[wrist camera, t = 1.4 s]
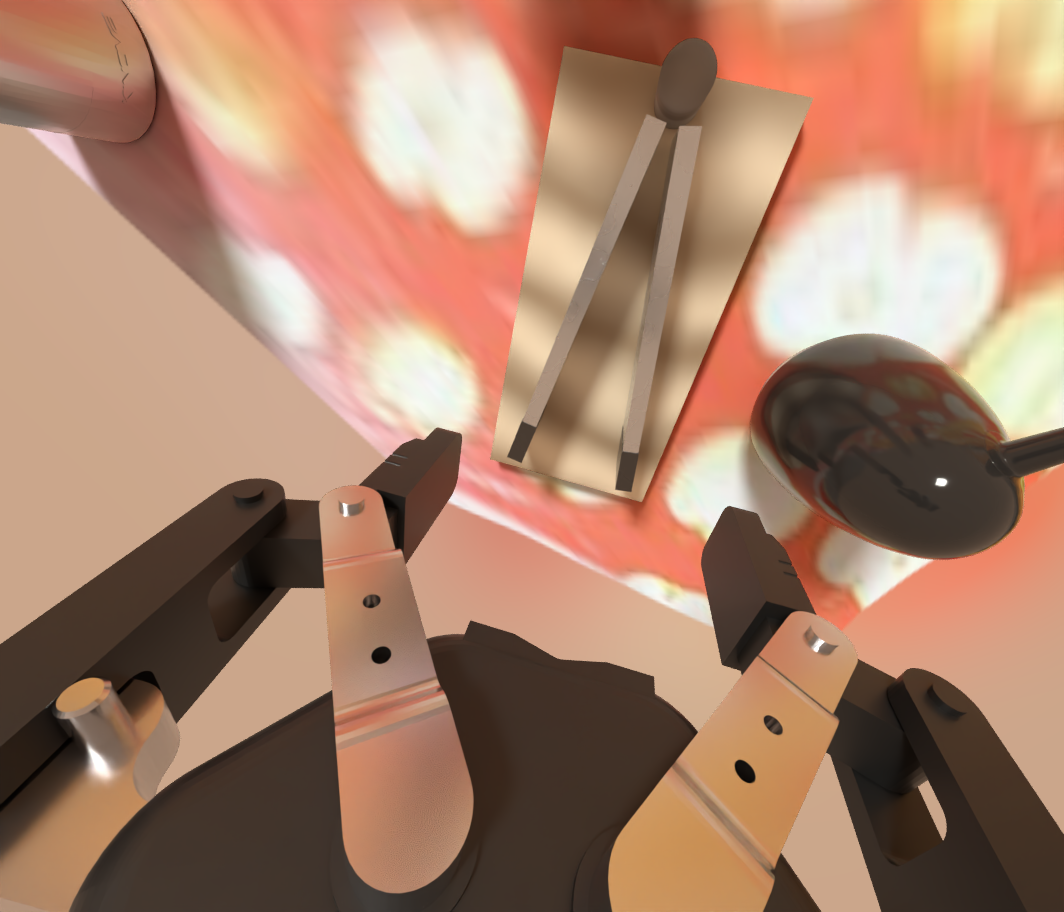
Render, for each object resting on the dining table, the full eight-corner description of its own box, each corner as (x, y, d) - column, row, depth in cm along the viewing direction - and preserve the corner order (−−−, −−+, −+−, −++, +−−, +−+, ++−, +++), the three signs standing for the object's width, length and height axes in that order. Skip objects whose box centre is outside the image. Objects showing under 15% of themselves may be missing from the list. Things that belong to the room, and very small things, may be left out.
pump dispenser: (945, 387, 27) (1235, 534, 14) (801, 484, 32) (917, 658, 19) (841, 283, 26) (1059, 341, 13) (706, 401, 31) (764, 531, 18)
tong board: (567, 55, 23) (551, 8, 18) (802, 105, 22) (854, 70, 17) (495, 450, 36) (473, 487, 31) (641, 492, 36) (643, 536, 30)
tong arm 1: (643, 130, 23) (645, 113, 19) (661, 139, 23) (667, 122, 19) (520, 432, 33) (507, 456, 29) (532, 437, 33) (521, 463, 29)
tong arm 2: (670, 141, 23) (678, 125, 19) (691, 141, 22) (703, 125, 19) (616, 461, 32) (615, 489, 29) (631, 463, 32) (631, 492, 29)
